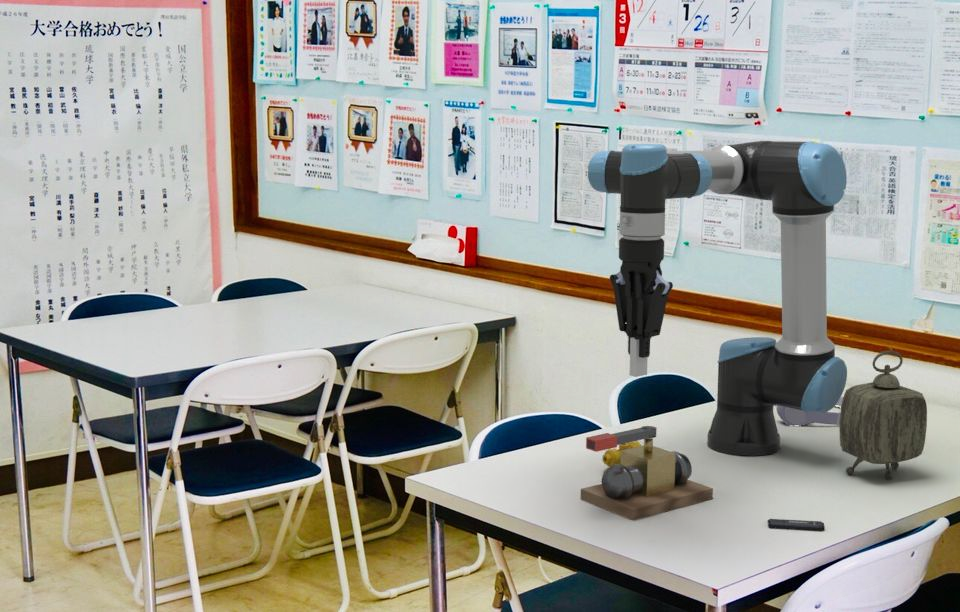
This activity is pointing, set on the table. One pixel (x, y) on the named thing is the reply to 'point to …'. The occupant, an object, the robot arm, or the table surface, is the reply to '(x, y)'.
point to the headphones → (808, 416)
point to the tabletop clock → (883, 421)
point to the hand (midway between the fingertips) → (638, 374)
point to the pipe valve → (646, 472)
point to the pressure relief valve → (617, 453)
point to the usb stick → (796, 524)
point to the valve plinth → (648, 500)
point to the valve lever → (619, 438)
